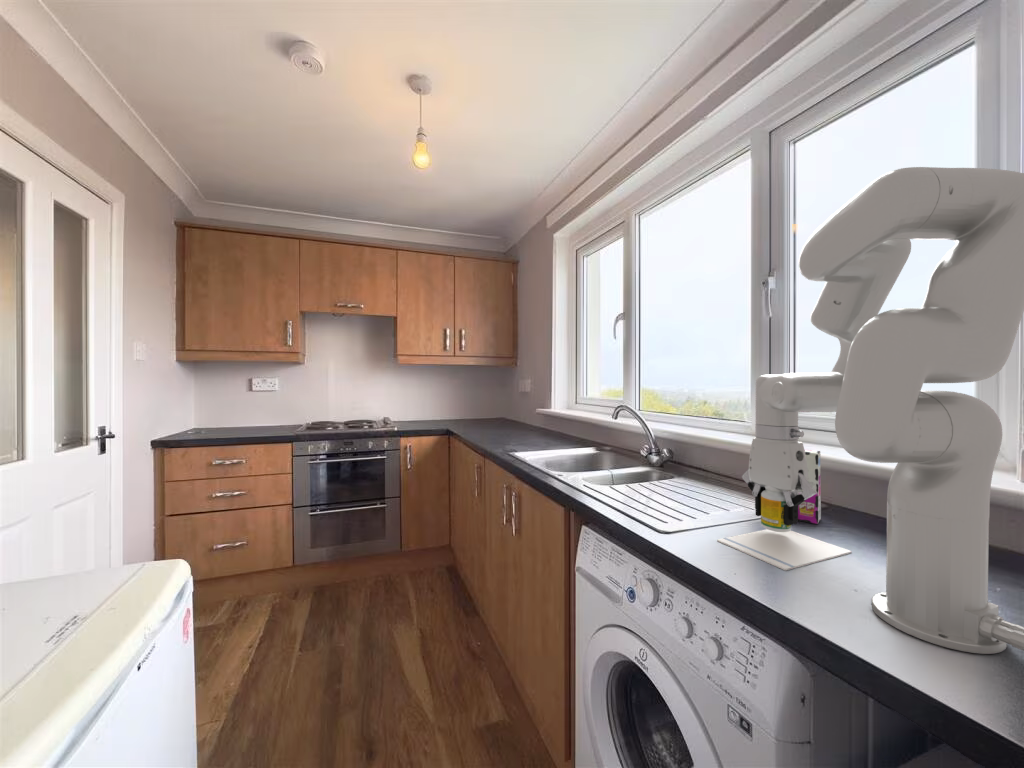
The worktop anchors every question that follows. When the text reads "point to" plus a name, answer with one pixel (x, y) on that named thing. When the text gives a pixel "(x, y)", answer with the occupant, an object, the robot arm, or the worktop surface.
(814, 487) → the candy bar box
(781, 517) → the supplement bottle
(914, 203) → the robot arm
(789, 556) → the paper notebook
